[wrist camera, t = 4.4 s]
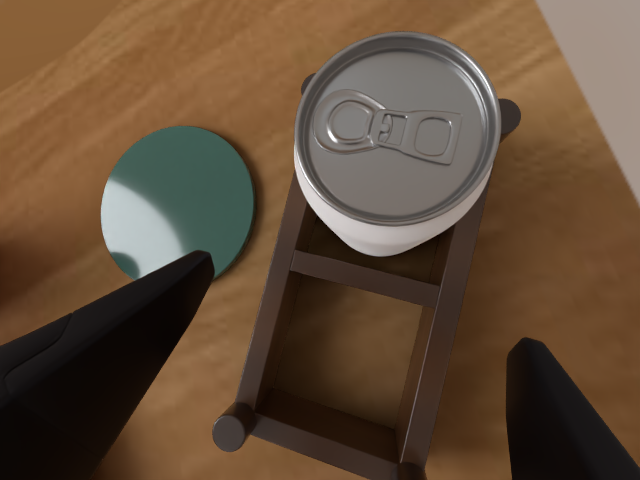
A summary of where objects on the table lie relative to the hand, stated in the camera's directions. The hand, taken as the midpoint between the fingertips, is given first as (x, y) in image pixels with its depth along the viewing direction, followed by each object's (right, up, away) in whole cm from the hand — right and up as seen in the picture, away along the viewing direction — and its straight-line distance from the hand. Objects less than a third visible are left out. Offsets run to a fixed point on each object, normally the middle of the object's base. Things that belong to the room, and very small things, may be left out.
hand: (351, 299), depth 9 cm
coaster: (-11, +4, +14) cm, 18 cm away
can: (+3, +4, +12) cm, 13 cm away
